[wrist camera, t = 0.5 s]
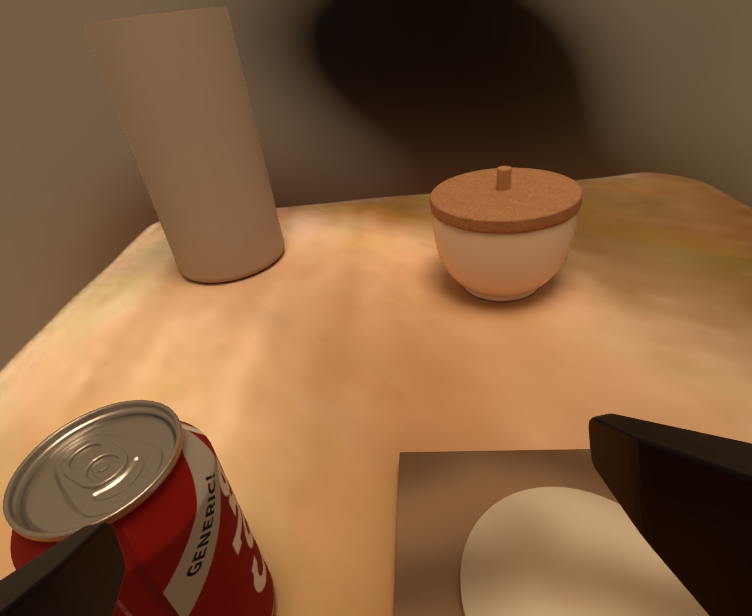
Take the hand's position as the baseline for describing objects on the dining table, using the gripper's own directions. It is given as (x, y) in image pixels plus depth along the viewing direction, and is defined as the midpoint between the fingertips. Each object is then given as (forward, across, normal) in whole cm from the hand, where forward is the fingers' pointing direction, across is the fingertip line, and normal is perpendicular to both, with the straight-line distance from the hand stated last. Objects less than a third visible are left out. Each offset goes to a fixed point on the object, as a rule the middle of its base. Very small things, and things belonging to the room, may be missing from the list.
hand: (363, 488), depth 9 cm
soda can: (+12, +9, +13) cm, 20 cm away
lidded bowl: (+35, -16, +4) cm, 39 cm away
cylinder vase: (+50, +11, -1) cm, 51 cm away
